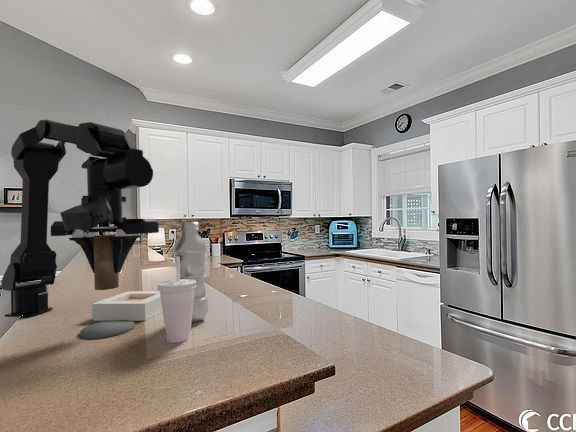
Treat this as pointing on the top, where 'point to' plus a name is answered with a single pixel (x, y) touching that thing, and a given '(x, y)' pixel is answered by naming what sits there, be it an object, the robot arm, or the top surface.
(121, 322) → the slate mat
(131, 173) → the robot arm
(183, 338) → the smoothie
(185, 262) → the plastic bottle
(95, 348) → the top surface
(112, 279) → the brown cylindrical post
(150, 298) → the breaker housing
